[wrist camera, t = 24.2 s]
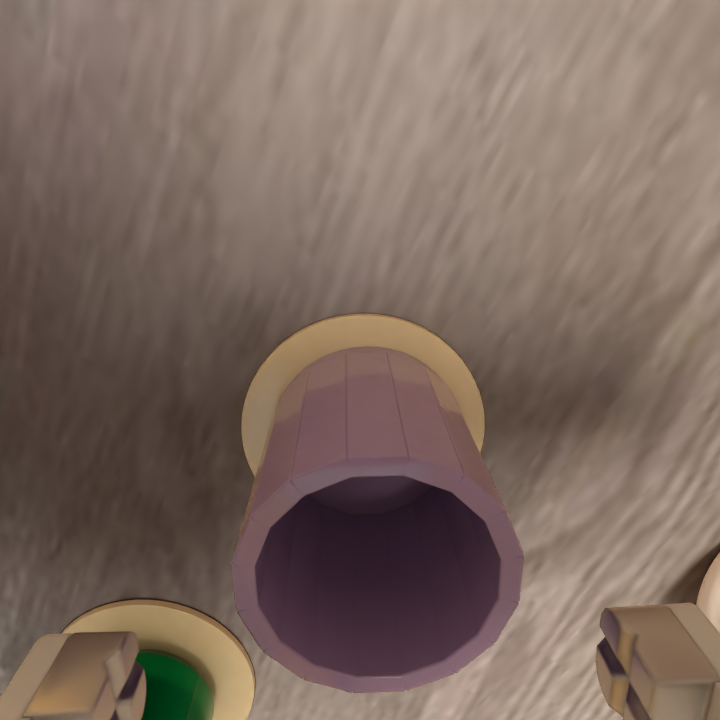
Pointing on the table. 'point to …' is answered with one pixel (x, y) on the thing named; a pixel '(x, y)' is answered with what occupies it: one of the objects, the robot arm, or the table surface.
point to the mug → (711, 594)
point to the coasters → (192, 628)
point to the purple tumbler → (374, 530)
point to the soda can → (173, 688)
